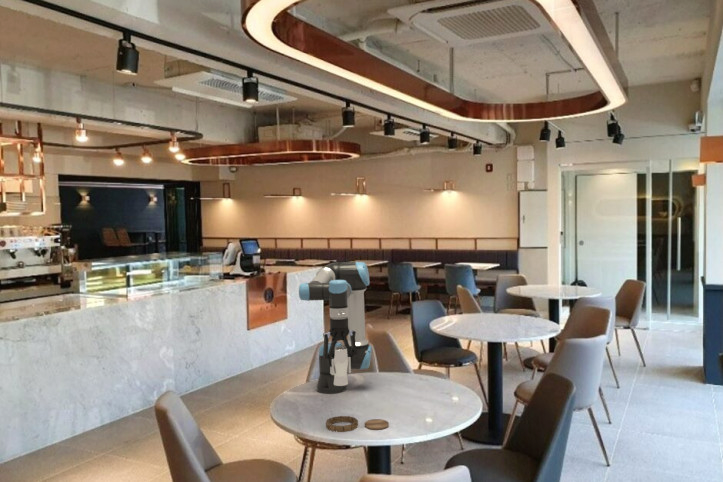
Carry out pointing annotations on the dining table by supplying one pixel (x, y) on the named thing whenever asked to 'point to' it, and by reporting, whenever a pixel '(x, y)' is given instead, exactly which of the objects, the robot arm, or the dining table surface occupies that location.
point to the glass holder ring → (342, 419)
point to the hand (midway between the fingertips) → (340, 373)
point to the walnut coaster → (376, 424)
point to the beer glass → (340, 365)
